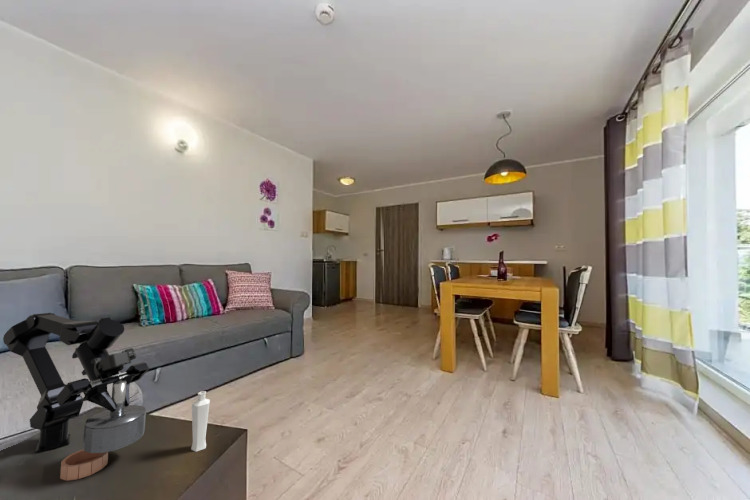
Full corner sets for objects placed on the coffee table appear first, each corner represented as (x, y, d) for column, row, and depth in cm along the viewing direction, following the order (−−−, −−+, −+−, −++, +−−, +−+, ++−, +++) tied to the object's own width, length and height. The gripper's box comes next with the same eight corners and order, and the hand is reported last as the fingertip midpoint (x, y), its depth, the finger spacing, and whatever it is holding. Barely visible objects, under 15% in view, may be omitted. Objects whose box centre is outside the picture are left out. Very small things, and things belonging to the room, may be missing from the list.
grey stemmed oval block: (93, 433, 81) (97, 378, 82) (147, 423, 87) (151, 372, 88) (74, 458, 71) (80, 394, 72) (138, 445, 76) (143, 387, 77)
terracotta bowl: (61, 467, 76) (62, 455, 76) (106, 454, 82) (107, 442, 82) (59, 485, 70) (60, 471, 70) (108, 469, 75) (109, 456, 76)
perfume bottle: (200, 453, 83) (203, 396, 84) (186, 451, 83) (189, 395, 84) (212, 444, 87) (215, 390, 88) (199, 442, 88) (202, 388, 89)
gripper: (69, 349, 73) (96, 404, 69) (147, 334, 91) (172, 377, 87) (45, 378, 75) (70, 433, 71) (126, 358, 92) (150, 401, 88)
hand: (121, 408), depth 79 cm, fingers closed on grey stemmed oval block, 3 cm apart
